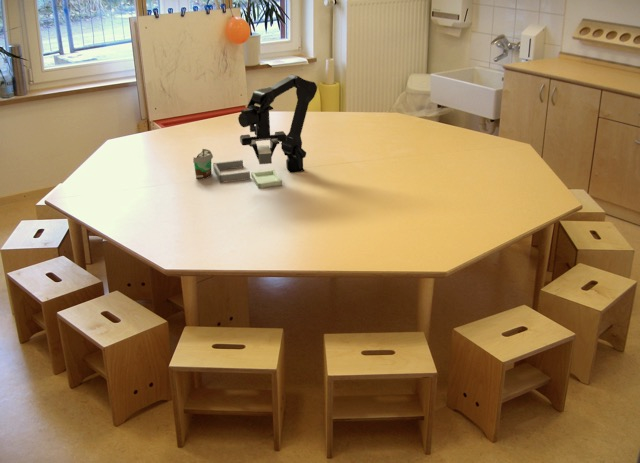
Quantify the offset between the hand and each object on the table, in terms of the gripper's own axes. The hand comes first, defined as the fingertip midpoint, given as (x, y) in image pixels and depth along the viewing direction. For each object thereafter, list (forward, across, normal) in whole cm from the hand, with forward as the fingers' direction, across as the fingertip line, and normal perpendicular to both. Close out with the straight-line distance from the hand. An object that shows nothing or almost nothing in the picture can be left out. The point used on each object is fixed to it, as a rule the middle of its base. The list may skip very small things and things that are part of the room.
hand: (264, 157), depth 318 cm
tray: (+10, 0, +1) cm, 10 cm away
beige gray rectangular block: (+1, 0, 0) cm, 1 cm away
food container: (+10, +23, -13) cm, 29 cm away
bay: (+10, +12, -12) cm, 20 cm away
